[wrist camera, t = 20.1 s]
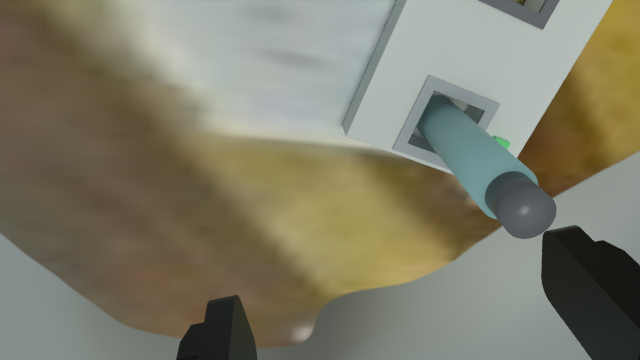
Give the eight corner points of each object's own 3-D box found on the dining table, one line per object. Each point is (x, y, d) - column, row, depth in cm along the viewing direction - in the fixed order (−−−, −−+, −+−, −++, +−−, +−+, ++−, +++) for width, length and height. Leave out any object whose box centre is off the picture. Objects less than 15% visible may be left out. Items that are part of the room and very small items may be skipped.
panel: (342, 125, 46) (346, 138, 43) (453, -128, 38) (469, -135, 34) (484, 176, 50) (499, 193, 46) (615, -43, 41) (643, -42, 38)
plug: (406, 127, 47) (485, 234, 30) (425, 89, 45) (520, 178, 28) (442, 140, 48) (539, 251, 31) (462, 103, 46) (575, 197, 29)
